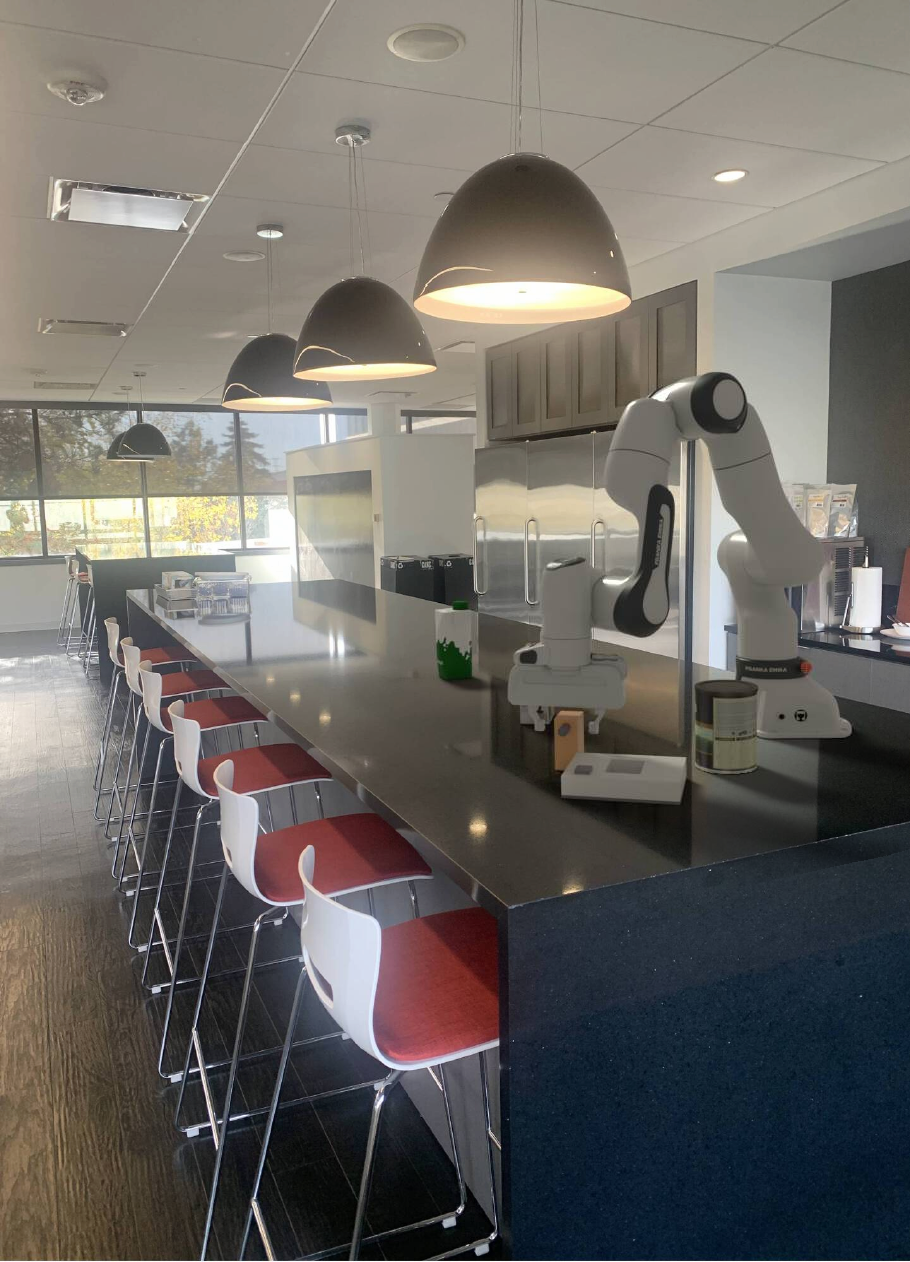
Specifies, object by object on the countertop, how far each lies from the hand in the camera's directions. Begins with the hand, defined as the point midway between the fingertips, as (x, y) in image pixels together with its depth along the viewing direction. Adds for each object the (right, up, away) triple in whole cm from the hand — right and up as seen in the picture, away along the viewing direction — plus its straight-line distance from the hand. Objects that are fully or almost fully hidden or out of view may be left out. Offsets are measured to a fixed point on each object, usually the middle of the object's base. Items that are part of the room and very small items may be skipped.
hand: (566, 731), depth 164 cm
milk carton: (-19, +5, +87) cm, 89 cm away
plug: (0, -6, -1) cm, 6 cm away
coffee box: (-2, -1, +36) cm, 36 cm away
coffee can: (+27, -6, -3) cm, 27 cm away
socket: (+8, -8, -13) cm, 17 cm away
